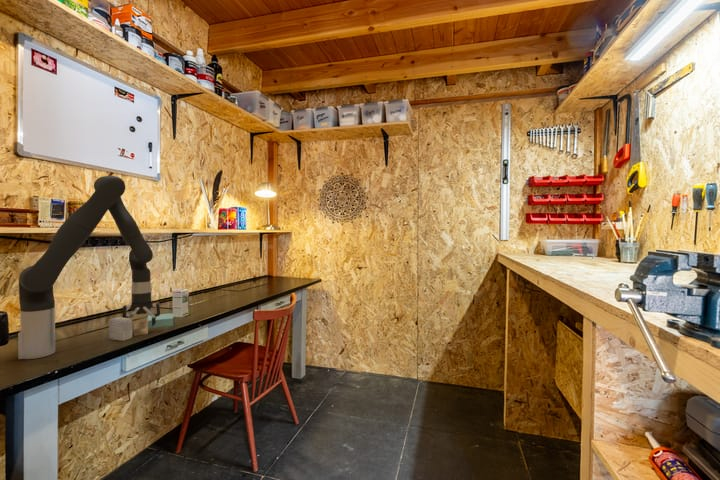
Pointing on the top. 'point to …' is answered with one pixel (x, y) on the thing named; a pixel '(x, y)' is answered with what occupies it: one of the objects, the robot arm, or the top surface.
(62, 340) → the top surface
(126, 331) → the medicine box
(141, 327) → the birch cube
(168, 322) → the teal block
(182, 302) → the syrup box
